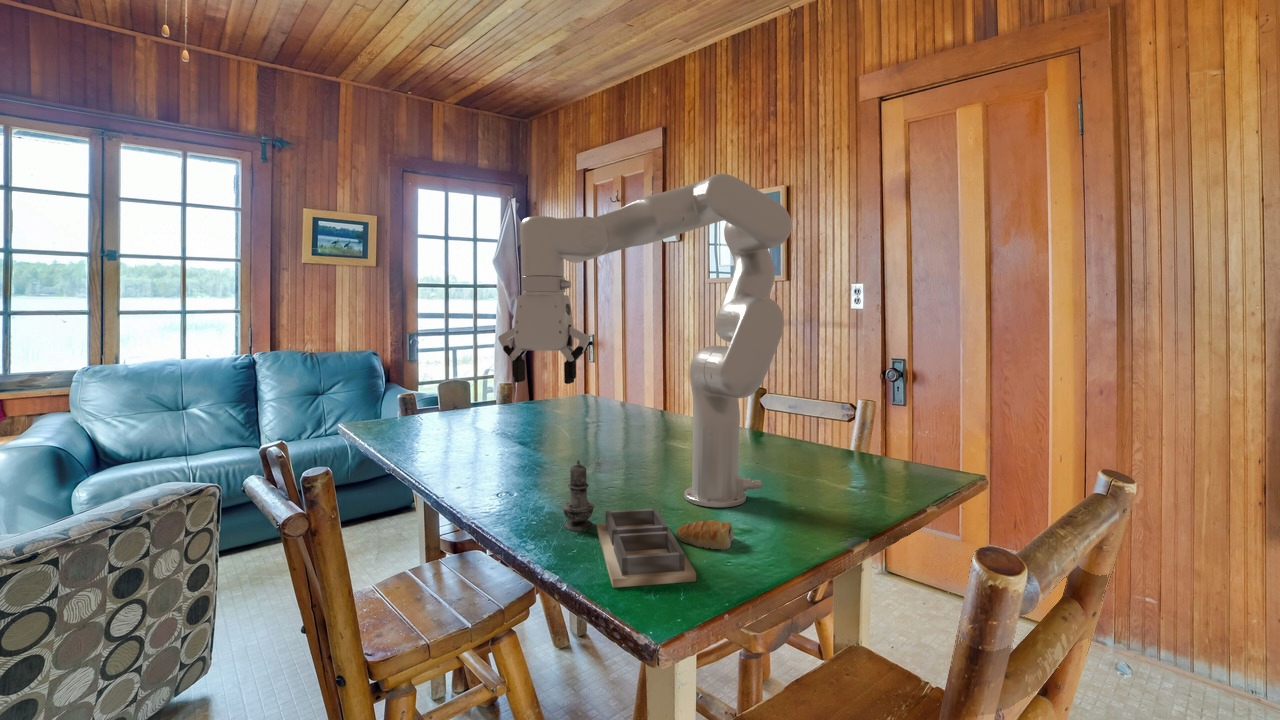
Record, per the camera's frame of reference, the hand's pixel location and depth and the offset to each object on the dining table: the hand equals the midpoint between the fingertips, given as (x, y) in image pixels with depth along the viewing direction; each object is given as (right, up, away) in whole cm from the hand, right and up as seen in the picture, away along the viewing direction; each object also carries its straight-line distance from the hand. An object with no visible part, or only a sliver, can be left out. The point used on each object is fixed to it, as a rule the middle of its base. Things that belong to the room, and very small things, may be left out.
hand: (544, 382), depth 107 cm
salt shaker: (+6, -26, -1) cm, 27 cm away
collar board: (+18, -27, -13) cm, 35 cm away
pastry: (+29, -27, -8) cm, 40 cm away
